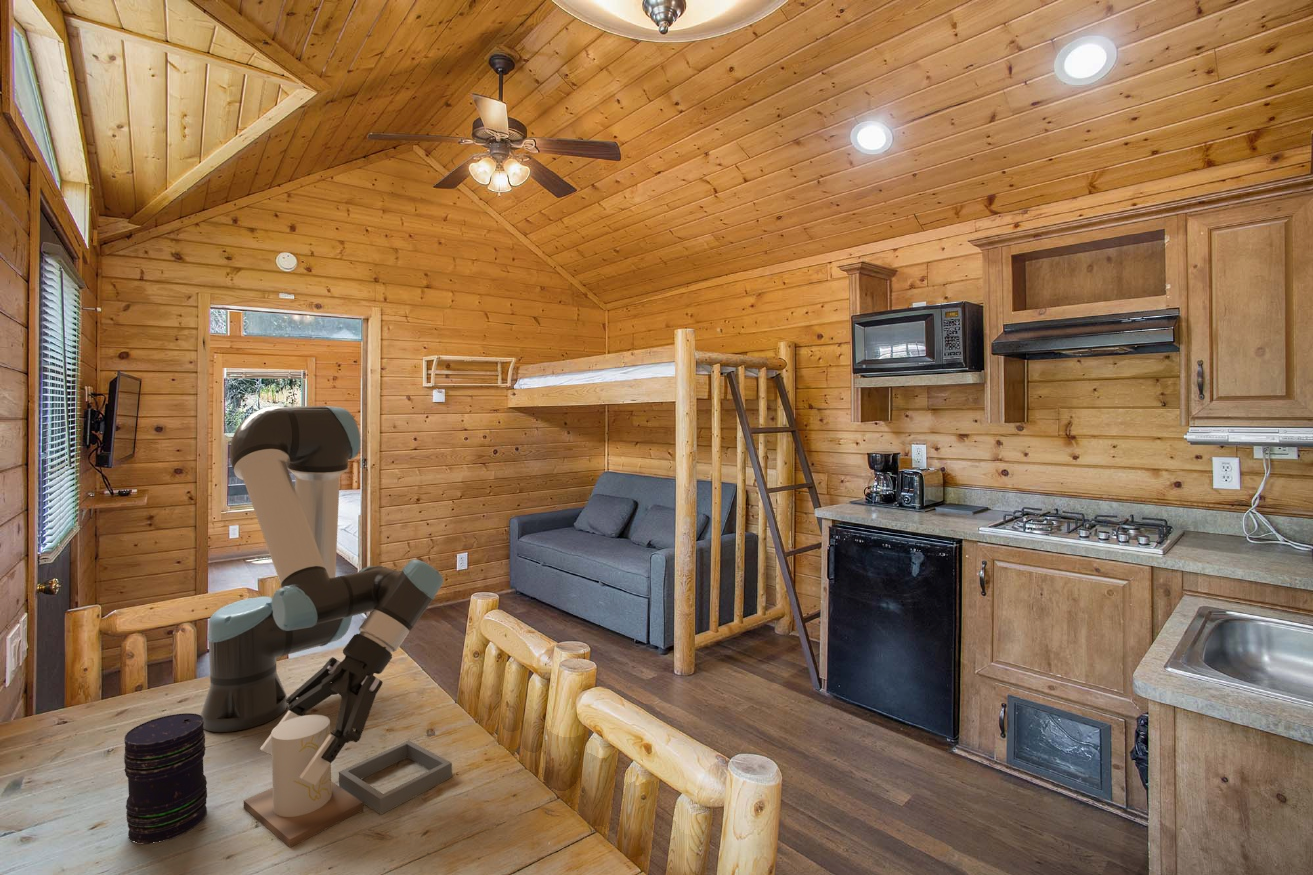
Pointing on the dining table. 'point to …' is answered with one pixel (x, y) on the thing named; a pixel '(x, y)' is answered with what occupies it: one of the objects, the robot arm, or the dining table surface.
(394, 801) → the square collar
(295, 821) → the walnut board
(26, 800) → the dining table surface
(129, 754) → the dark purple cylinder
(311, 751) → the cup
